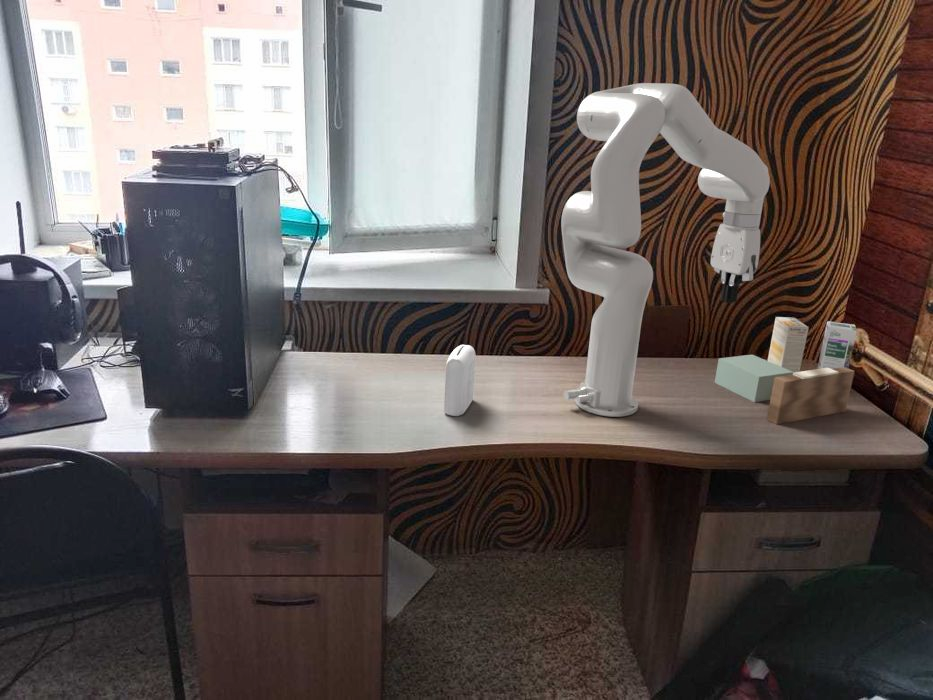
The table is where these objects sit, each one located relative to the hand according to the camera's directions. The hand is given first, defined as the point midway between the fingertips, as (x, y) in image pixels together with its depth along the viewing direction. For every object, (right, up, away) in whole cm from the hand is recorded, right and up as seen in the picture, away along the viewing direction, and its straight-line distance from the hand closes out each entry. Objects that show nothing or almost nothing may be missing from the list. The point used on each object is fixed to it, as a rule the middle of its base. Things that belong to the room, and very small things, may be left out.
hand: (728, 301), depth 169 cm
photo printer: (-61, -22, -22) cm, 69 cm away
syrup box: (+23, -19, +1) cm, 30 cm away
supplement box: (+15, -17, +7) cm, 24 cm away
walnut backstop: (+10, -24, -17) cm, 31 cm away
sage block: (+4, -20, -4) cm, 21 cm away
